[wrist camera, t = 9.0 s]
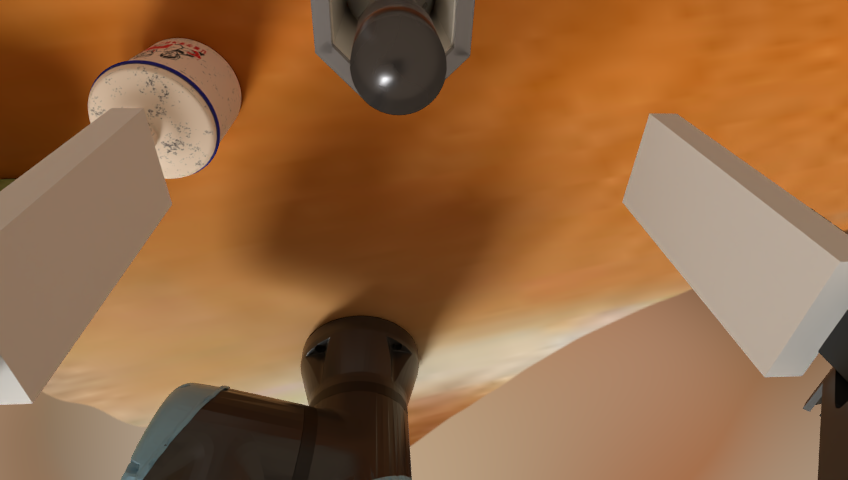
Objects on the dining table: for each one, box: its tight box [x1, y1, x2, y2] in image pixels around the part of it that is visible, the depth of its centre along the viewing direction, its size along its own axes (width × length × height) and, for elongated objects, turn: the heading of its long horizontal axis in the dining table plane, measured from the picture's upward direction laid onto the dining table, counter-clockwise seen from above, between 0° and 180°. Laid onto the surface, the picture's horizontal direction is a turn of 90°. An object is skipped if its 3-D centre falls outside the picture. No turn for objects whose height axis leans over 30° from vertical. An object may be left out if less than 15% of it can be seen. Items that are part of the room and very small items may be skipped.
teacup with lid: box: [88, 38, 241, 179], centre depth 39 cm, size 12×9×12 cm
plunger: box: [350, 0, 447, 115], centre depth 28 cm, size 6×6×20 cm
